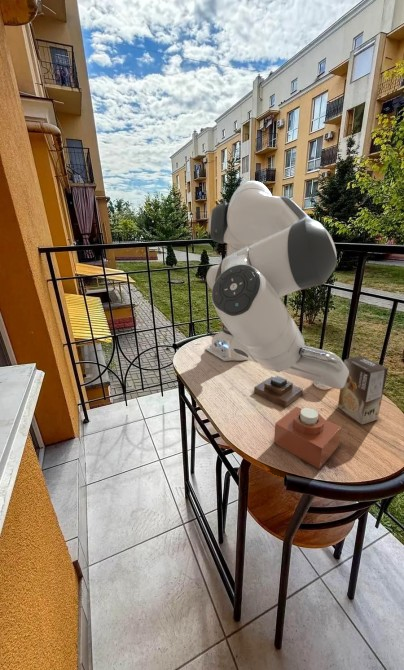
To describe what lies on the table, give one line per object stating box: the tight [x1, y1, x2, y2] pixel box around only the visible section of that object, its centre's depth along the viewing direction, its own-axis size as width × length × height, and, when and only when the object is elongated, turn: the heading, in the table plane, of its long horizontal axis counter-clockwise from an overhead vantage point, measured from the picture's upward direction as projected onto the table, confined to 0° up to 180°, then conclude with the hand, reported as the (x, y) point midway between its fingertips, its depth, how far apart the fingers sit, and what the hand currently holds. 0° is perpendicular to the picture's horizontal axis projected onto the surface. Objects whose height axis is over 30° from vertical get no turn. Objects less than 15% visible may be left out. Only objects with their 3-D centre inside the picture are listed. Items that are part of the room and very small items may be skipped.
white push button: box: [300, 407, 319, 425], centre depth 68 cm, size 4×4×2 cm
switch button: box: [271, 375, 288, 388], centre depth 91 cm, size 4×4×2 cm
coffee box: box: [337, 355, 389, 425], centre depth 79 cm, size 9×6×16 cm
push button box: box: [273, 406, 342, 470], centre depth 69 cm, size 12×10×8 cm
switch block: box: [253, 376, 304, 408], centre depth 92 cm, size 12×10×4 cm
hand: (299, 375), depth 57 cm, fingers open, 8 cm apart
